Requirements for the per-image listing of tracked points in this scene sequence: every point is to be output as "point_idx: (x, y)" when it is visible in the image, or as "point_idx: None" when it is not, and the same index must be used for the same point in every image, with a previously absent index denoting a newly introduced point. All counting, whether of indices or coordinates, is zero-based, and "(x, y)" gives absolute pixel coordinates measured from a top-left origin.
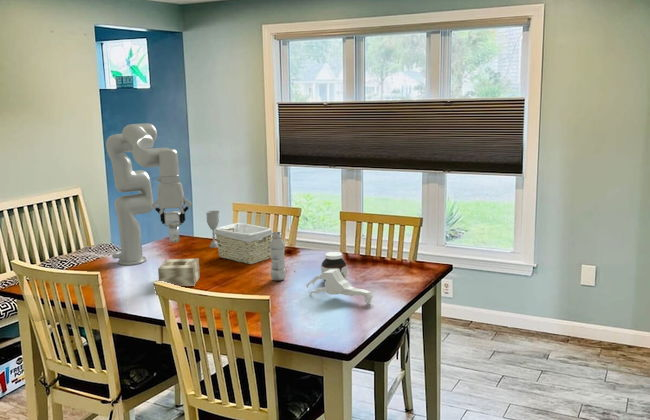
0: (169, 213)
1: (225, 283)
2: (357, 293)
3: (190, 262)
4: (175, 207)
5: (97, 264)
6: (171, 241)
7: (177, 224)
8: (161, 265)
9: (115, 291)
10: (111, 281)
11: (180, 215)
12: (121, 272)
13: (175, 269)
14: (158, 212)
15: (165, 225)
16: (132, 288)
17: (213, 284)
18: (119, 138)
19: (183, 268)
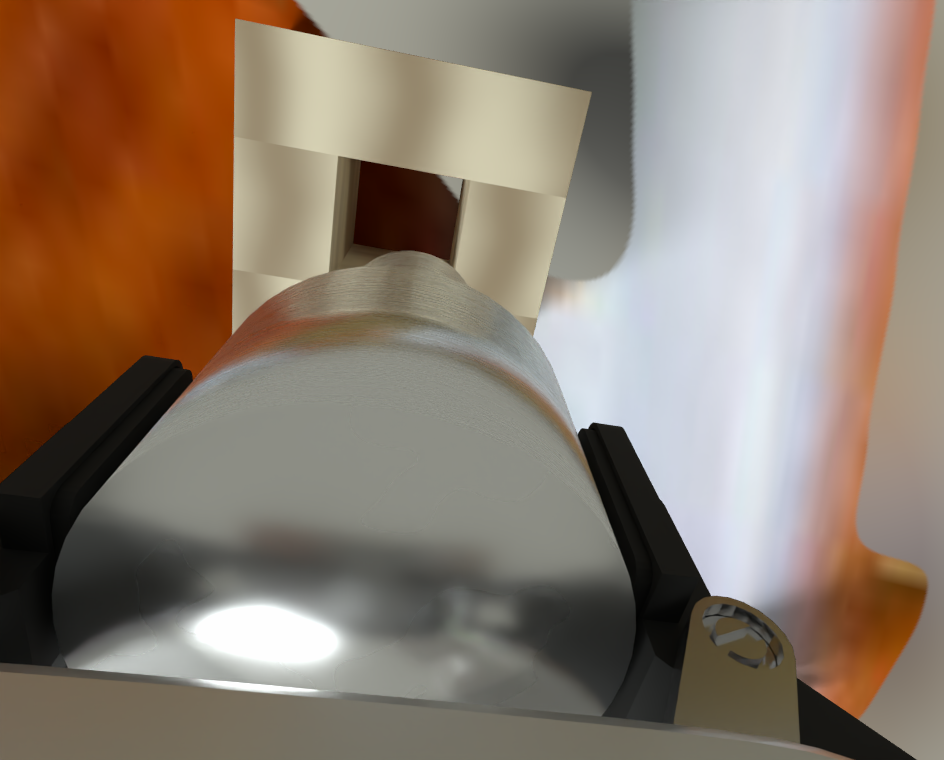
0: (444, 568)
1: (33, 48)
2: None
3: (289, 235)
4: (15, 671)
5: (867, 672)
6: (447, 266)
7: (271, 304)
8: (555, 210)
9: (875, 102)
10: (856, 354)
11: (91, 474)
12: (770, 515)
13: (421, 57)
14: (802, 686)
15: (549, 362)
16: (751, 143)
17: (133, 51)
18: None
19: (339, 41)
